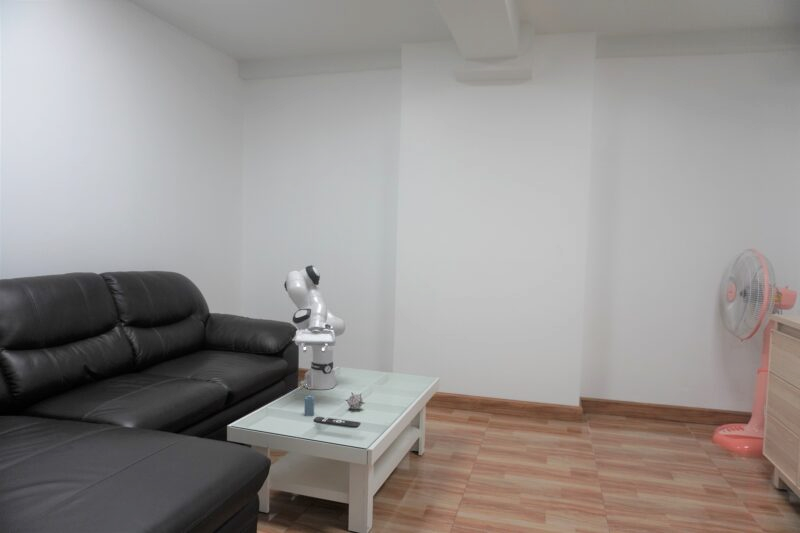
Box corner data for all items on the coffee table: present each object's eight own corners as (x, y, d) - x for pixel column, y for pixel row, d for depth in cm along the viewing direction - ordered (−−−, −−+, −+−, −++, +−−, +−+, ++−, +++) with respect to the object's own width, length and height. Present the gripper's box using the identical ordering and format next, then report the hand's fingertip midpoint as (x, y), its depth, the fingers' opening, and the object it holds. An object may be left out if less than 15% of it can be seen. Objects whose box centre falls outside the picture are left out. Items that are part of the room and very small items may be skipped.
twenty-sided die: (358, 416, 270) (370, 400, 271) (351, 415, 263) (364, 398, 264) (345, 405, 274) (358, 388, 275) (339, 403, 267) (351, 386, 267)
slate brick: (305, 413, 262) (306, 394, 262) (314, 413, 262) (314, 395, 262) (304, 415, 258) (304, 397, 258) (313, 415, 258) (313, 397, 258)
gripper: (295, 325, 278) (292, 347, 269) (336, 325, 279) (333, 348, 269) (297, 332, 283) (293, 355, 273) (336, 333, 283) (334, 355, 274)
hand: (313, 351), depth 271 cm, fingers open, 8 cm apart
